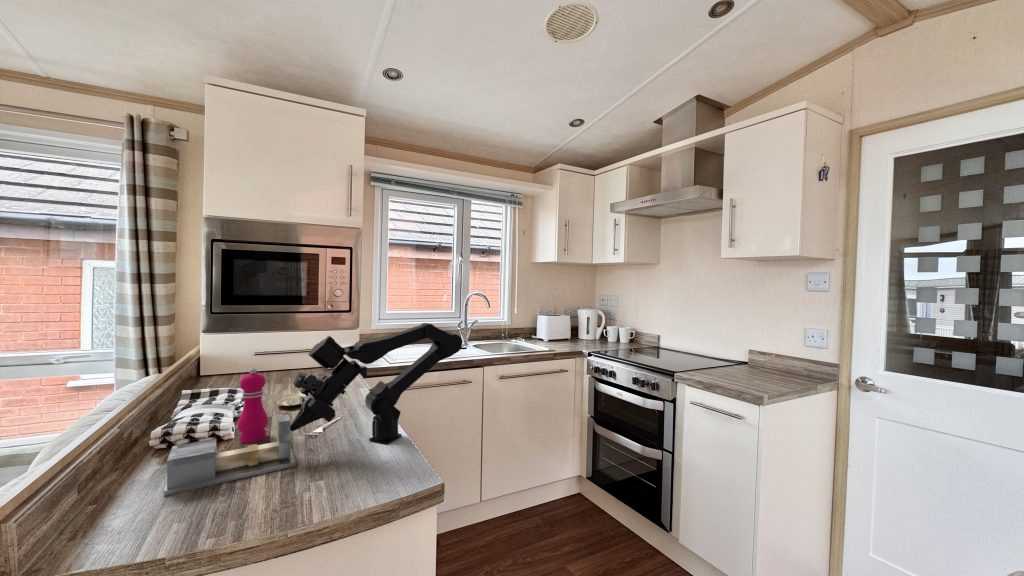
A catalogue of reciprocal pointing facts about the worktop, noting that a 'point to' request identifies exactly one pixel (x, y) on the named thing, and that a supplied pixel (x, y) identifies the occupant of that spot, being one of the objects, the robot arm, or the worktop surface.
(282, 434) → the shaft
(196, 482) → the grey long blocky piece
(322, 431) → the fork
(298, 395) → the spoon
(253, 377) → the pepper mill
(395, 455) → the worktop surface
